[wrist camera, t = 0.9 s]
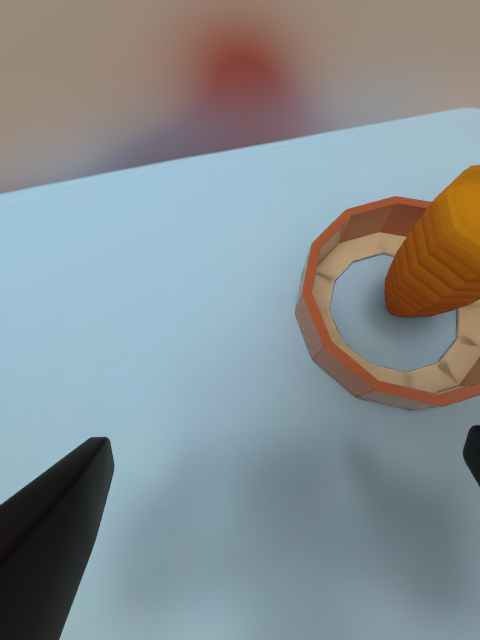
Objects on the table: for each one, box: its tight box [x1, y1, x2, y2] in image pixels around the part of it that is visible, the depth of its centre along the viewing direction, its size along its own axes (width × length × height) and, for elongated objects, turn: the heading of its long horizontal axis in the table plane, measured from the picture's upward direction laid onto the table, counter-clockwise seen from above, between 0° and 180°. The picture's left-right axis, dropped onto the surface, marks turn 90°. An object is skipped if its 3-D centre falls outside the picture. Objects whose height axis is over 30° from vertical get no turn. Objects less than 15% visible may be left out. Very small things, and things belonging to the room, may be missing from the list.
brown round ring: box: [295, 196, 480, 410], centre depth 21 cm, size 13×13×4 cm
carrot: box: [384, 165, 480, 317], centre depth 15 cm, size 5×5×15 cm
